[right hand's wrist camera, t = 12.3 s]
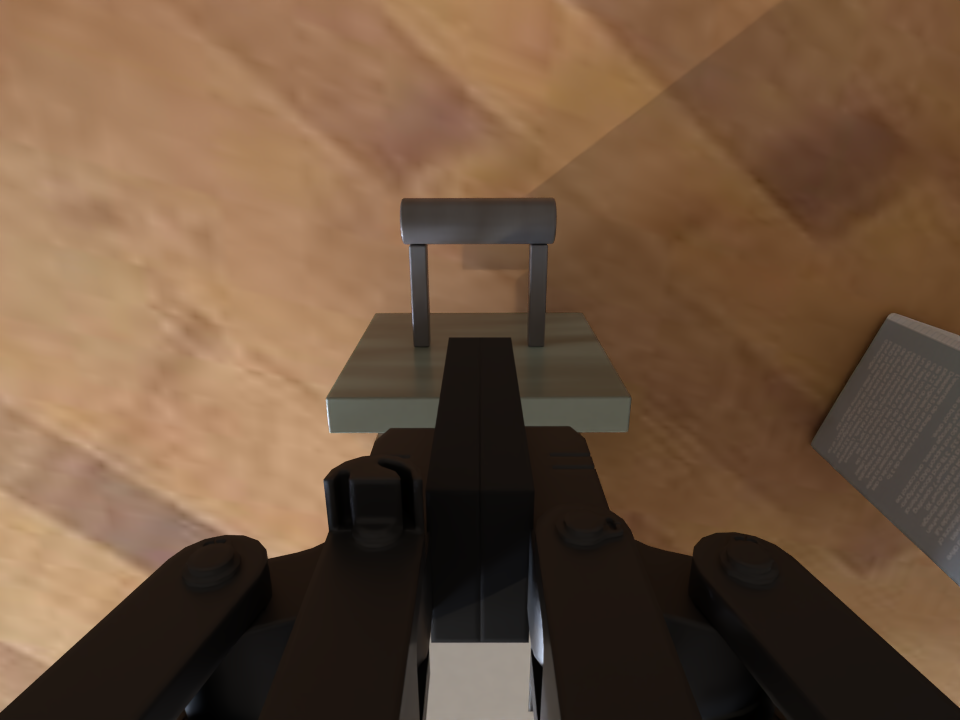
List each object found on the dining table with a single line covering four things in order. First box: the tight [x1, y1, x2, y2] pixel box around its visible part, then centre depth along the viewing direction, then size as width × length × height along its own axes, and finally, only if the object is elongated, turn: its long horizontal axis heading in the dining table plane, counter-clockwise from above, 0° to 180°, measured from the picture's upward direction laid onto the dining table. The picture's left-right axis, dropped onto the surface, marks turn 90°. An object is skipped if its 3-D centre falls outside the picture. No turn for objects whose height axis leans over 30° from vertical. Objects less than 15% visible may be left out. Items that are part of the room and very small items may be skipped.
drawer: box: [326, 198, 631, 440], centre depth 23 cm, size 20×9×9 cm, turn 0°
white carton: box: [426, 631, 534, 720], centre depth 28 cm, size 16×10×11 cm, turn 0°
